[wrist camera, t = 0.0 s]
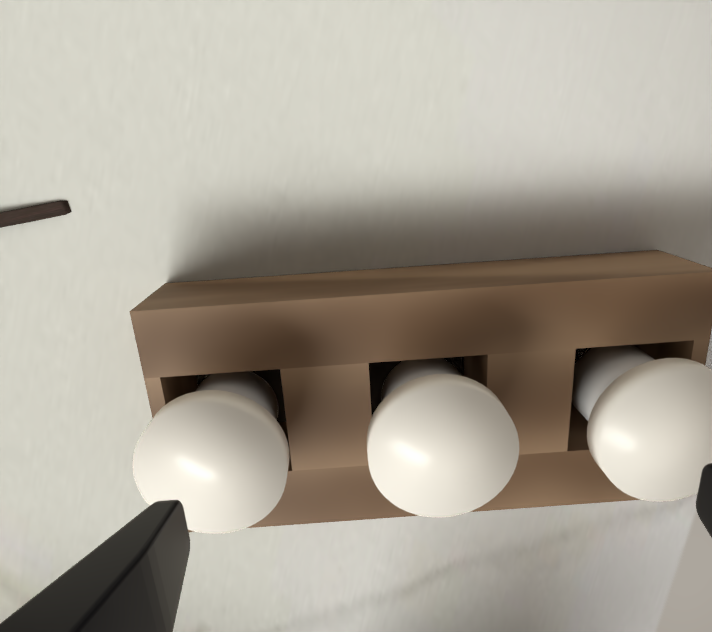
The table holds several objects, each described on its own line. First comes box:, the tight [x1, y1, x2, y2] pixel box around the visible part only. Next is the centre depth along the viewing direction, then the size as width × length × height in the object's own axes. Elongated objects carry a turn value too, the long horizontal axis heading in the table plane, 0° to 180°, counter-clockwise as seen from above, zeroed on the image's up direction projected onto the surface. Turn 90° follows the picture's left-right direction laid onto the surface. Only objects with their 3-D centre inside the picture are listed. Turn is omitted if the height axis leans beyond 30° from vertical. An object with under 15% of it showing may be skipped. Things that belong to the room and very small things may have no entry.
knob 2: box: [571, 345, 712, 502], centre depth 20 cm, size 5×5×4 cm
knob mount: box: [130, 250, 712, 532], centre depth 22 cm, size 10×22×4 cm, turn 93°
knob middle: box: [367, 358, 519, 518], centre depth 20 cm, size 5×5×4 cm
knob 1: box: [133, 371, 290, 534], centre depth 19 cm, size 5×5×4 cm
